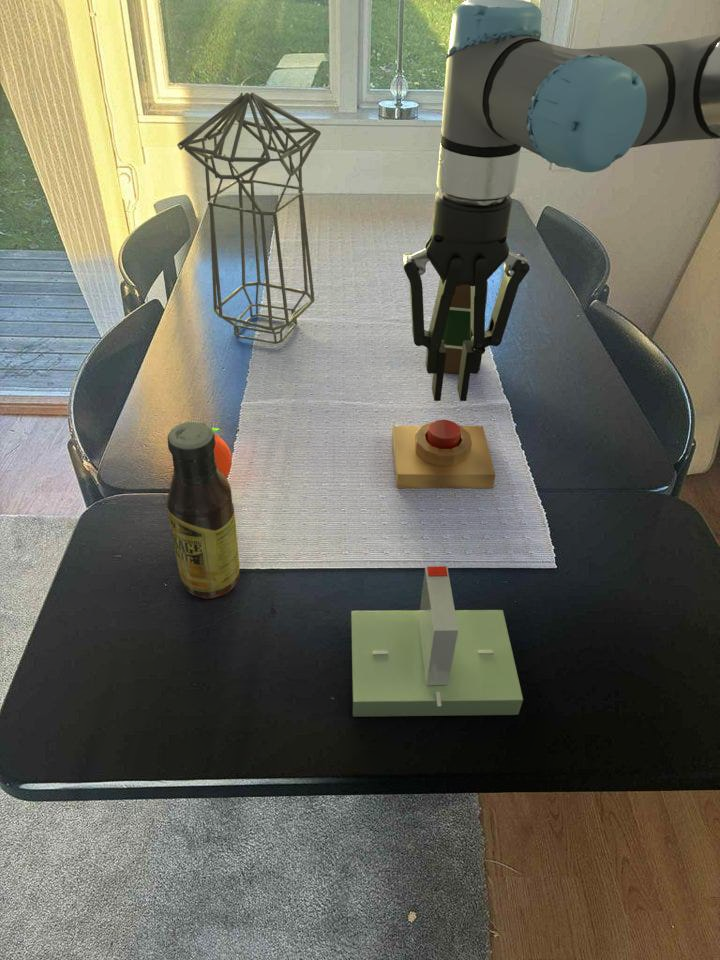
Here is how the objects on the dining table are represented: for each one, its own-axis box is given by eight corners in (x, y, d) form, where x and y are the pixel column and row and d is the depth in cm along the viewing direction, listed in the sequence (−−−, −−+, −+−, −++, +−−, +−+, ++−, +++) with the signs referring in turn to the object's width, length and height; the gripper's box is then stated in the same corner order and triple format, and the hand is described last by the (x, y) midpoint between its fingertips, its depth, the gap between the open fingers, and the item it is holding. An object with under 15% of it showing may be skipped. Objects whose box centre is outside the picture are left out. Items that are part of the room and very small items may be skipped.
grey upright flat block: (448, 685, 62) (458, 628, 57) (426, 685, 62) (434, 628, 57) (438, 621, 68) (447, 564, 62) (418, 622, 68) (425, 564, 62)
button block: (480, 438, 94) (484, 414, 92) (493, 487, 87) (498, 463, 84) (391, 438, 94) (393, 414, 91) (396, 488, 86) (398, 463, 84)
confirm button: (456, 430, 89) (458, 419, 88) (461, 450, 86) (462, 438, 85) (425, 430, 89) (426, 419, 88) (428, 450, 86) (430, 438, 85)
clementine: (206, 453, 90) (199, 408, 86) (250, 470, 88) (245, 425, 83) (165, 489, 85) (155, 442, 80) (211, 508, 83) (203, 462, 78)
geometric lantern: (328, 319, 118) (326, 87, 95) (287, 364, 107) (274, 114, 84) (245, 301, 123) (224, 75, 100) (198, 343, 111) (162, 99, 88)
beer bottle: (465, 381, 105) (488, 221, 89) (419, 365, 108) (433, 208, 92) (486, 358, 110) (511, 203, 94) (442, 344, 113) (459, 192, 97)
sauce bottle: (171, 576, 75) (136, 426, 62) (221, 549, 78) (199, 401, 65) (202, 614, 71) (172, 463, 58) (254, 585, 74) (237, 435, 61)
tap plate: (498, 620, 71) (502, 603, 69) (519, 721, 63) (525, 705, 61) (350, 621, 71) (351, 604, 69) (352, 723, 62) (353, 707, 60)
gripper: (544, 180, 71) (507, 377, 86) (392, 178, 70) (382, 377, 86) (562, 207, 65) (519, 413, 81) (397, 205, 65) (385, 412, 80)
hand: (448, 394), depth 83 cm, fingers open, 2 cm apart
